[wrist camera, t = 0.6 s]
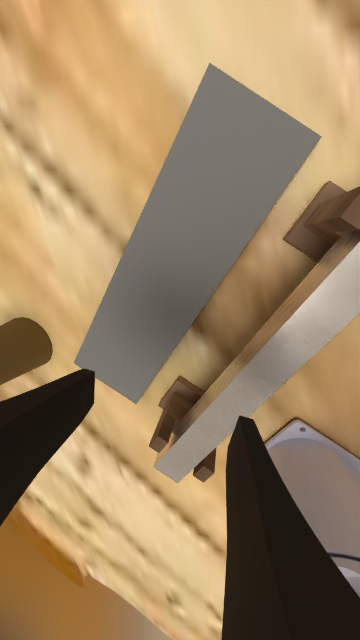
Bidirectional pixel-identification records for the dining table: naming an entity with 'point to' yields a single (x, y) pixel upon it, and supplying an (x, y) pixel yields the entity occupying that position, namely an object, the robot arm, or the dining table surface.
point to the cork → (22, 348)
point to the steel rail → (270, 356)
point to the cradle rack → (310, 238)
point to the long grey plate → (193, 228)
